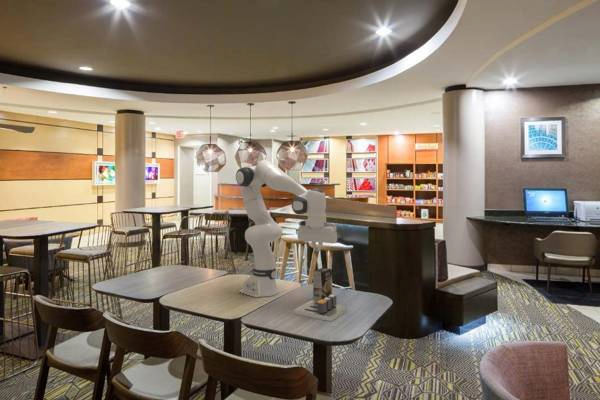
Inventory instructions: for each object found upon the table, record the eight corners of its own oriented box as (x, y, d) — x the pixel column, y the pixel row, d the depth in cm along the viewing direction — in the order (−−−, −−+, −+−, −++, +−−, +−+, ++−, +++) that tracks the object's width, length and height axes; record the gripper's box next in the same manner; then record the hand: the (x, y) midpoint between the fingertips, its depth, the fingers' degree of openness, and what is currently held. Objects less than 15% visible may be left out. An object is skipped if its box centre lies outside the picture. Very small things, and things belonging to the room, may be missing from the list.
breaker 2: (327, 305, 183) (327, 296, 183) (330, 303, 186) (330, 294, 186) (332, 306, 181) (332, 297, 181) (336, 304, 184) (336, 295, 184)
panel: (293, 313, 180) (293, 309, 180) (311, 304, 193) (310, 300, 193) (331, 321, 169) (331, 316, 169) (346, 310, 183) (346, 306, 183)
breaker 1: (322, 309, 179) (322, 298, 178) (326, 306, 182) (325, 296, 181) (328, 310, 177) (327, 299, 177) (331, 307, 180) (331, 297, 180)
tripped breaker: (317, 312, 174) (317, 301, 174) (321, 309, 177) (320, 299, 177) (323, 313, 173) (322, 302, 172) (326, 311, 176) (326, 300, 175)
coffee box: (323, 303, 194) (322, 272, 193) (312, 301, 198) (312, 270, 197) (332, 298, 202) (332, 268, 201) (322, 296, 205) (322, 267, 205)
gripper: (339, 222, 179) (339, 251, 180) (302, 220, 190) (302, 248, 191) (333, 224, 174) (333, 254, 175) (295, 222, 185) (296, 250, 185)
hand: (317, 251), depth 183 cm, fingers closed
